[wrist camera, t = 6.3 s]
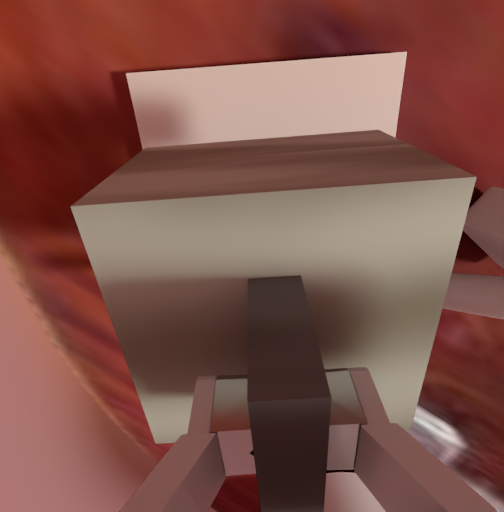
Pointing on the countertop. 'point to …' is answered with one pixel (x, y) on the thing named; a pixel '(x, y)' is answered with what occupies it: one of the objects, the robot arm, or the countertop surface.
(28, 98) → the countertop surface
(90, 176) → the countertop surface
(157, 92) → the board
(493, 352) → the countertop surface
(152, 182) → the cabinet block
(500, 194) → the white block with rod
